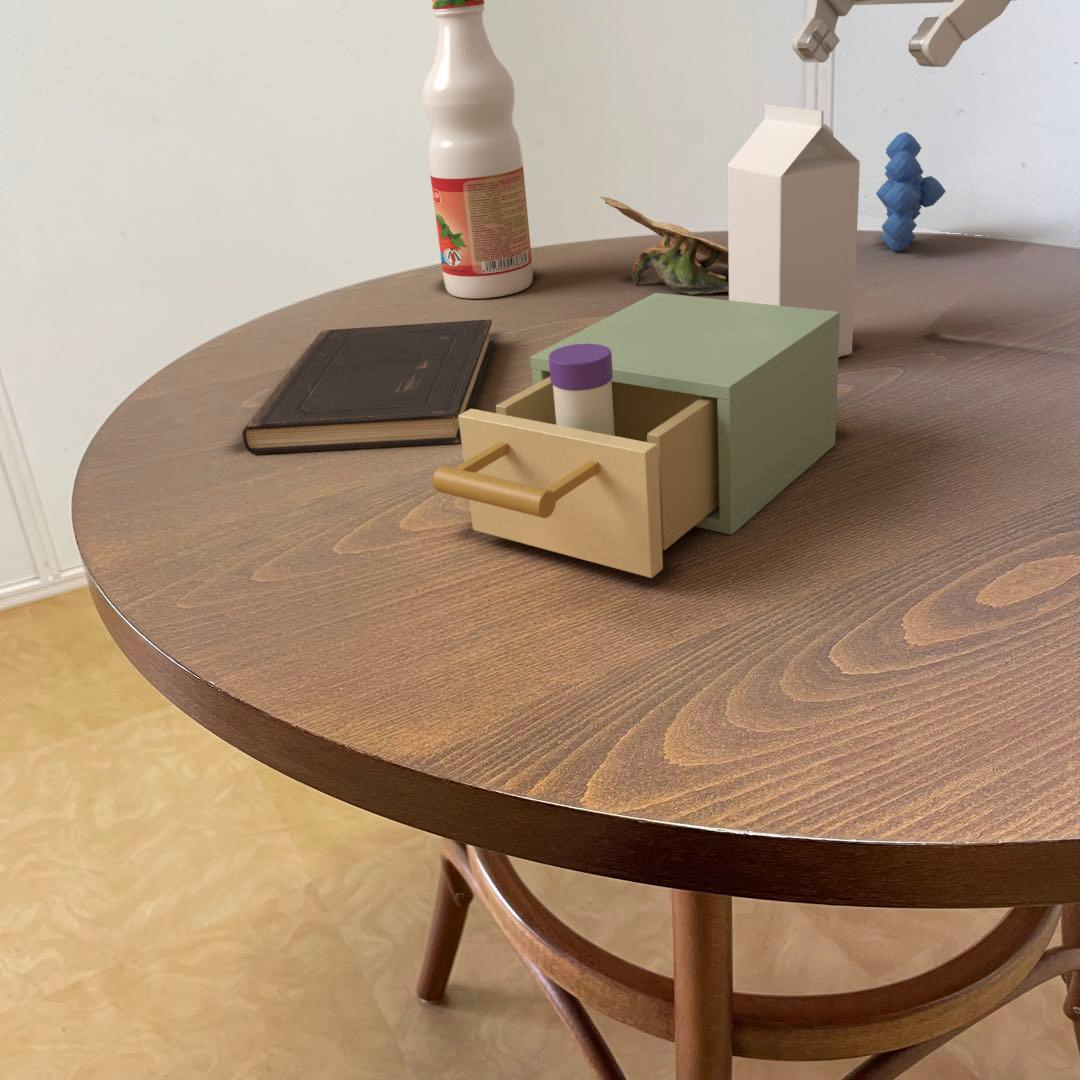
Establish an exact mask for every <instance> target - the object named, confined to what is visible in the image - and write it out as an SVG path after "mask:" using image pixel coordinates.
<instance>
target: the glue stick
mask: <svg viewBox="0 0 1080 1080" xmlns="http://www.w3.org/2000/svg"><path fill="white" fill-rule="evenodd" d="M549 368H550V379H551V383H552V384H553V392H554V404H555V415H556V425H560V426H565V427H570V428H575V429H580V430H586V431H591V432H596V433H601V434H607V435H612V436H615V431H614V415H613V399H612V383H611V380H612V378H613V369H612V353H611V350H610V349H609V348H608V347H606V346H603V345H598V344H574V345H569V346H564V347H561V348H558V349H556V350H554V351H552V352H551V353H550V355H549Z"/></svg>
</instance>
